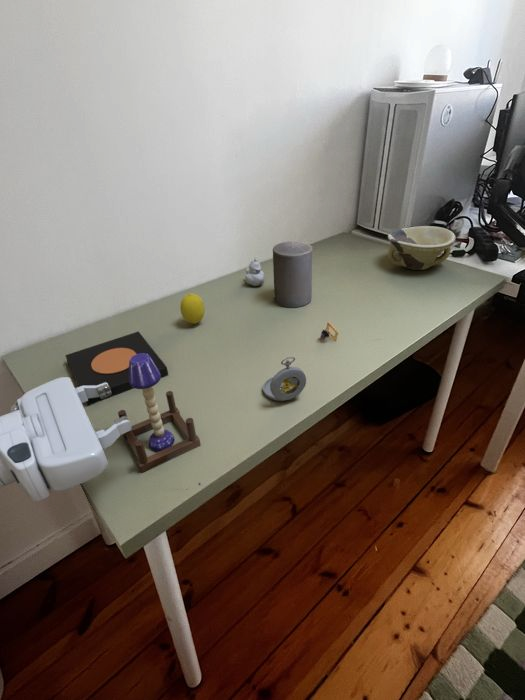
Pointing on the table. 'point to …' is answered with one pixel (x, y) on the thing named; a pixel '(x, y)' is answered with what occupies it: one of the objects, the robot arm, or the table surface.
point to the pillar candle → (292, 273)
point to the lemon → (192, 308)
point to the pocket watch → (285, 383)
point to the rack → (168, 453)
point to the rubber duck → (254, 274)
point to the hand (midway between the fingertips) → (119, 404)
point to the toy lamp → (149, 398)
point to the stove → (110, 363)
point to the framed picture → (328, 332)
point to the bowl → (420, 246)
